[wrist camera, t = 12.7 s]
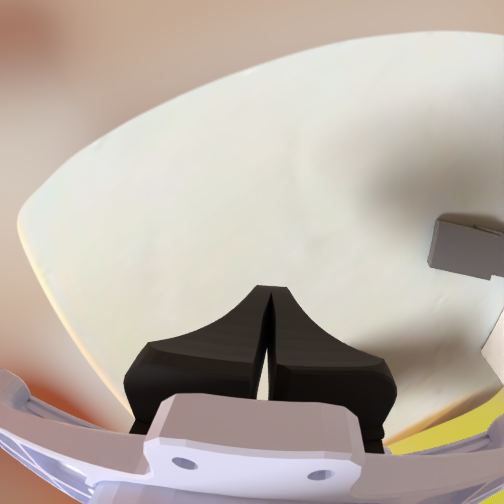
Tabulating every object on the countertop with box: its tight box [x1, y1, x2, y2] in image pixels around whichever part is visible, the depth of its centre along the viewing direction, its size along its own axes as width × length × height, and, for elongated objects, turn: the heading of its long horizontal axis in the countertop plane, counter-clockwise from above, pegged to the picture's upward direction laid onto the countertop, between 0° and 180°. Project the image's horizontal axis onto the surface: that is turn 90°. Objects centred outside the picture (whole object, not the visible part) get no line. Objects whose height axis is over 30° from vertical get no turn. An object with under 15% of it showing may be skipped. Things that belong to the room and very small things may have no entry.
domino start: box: [427, 219, 501, 280], centre depth 18 cm, size 4×2×6 cm
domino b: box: [474, 225, 504, 277], centre depth 18 cm, size 4×2×6 cm
